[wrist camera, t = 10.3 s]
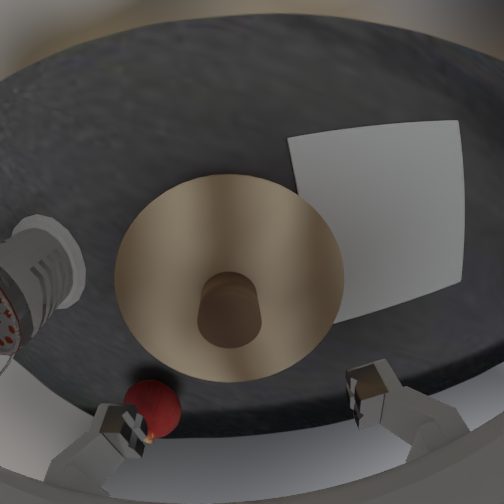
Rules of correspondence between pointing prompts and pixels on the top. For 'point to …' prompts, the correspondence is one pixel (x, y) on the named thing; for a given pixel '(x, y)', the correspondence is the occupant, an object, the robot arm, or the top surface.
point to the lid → (229, 278)
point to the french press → (36, 278)
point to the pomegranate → (155, 407)
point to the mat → (387, 207)
